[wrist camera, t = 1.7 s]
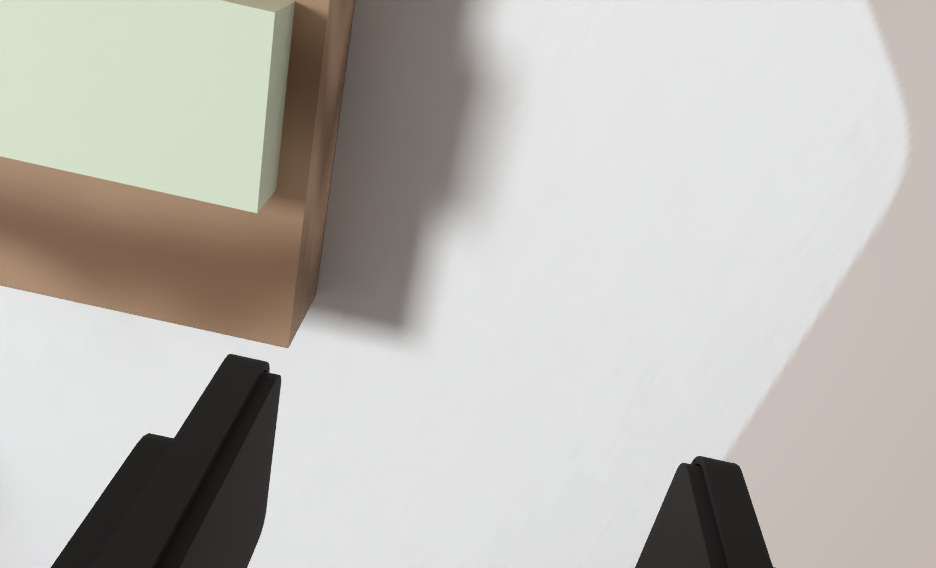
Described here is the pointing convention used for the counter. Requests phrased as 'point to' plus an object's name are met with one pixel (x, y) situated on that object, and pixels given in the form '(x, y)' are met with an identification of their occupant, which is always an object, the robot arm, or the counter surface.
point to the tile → (149, 92)
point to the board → (193, 219)
